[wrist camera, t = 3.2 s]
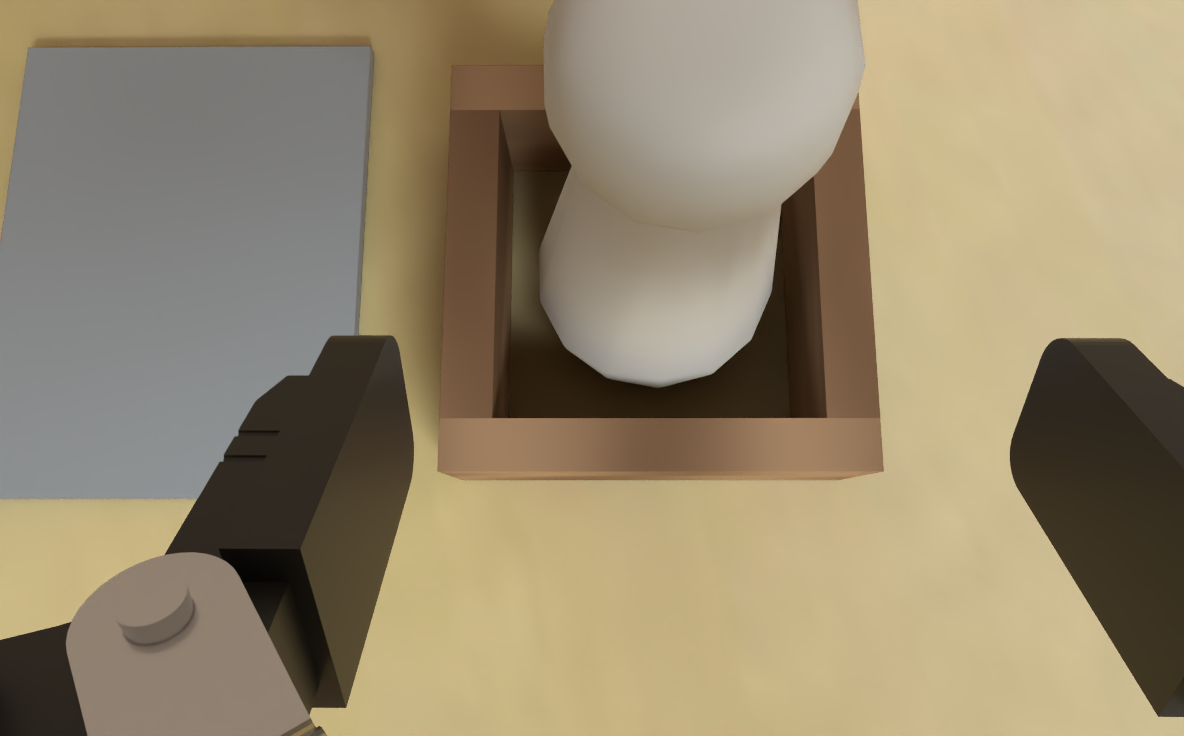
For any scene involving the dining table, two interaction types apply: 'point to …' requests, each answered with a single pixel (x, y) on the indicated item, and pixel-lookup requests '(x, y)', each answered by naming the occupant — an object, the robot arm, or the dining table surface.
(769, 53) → the salt shaker
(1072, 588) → the dining table surface
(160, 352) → the rubber mat
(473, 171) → the pocket block
